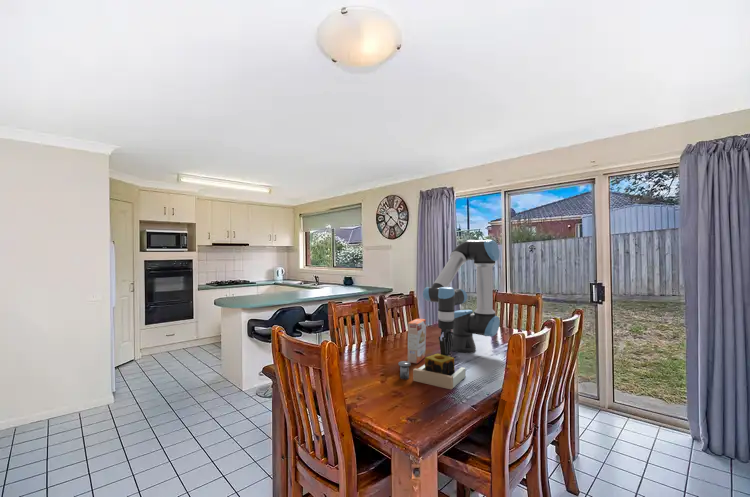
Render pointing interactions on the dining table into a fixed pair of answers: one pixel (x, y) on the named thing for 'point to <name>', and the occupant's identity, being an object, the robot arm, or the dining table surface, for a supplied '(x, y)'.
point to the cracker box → (416, 340)
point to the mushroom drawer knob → (404, 369)
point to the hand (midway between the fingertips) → (445, 368)
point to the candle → (440, 364)
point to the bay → (438, 377)
